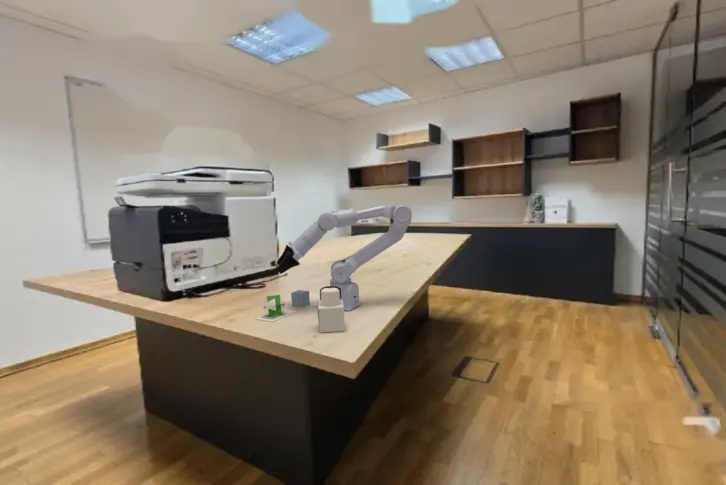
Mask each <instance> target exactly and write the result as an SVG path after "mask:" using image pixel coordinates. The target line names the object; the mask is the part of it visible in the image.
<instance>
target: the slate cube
mask: <svg viewBox="0 0 726 485" xmlns="http://www.w3.org/2000/svg"><path fill="white" fill-rule="evenodd" d="M290 296H291V307H293V308H294V307H295V308H301V309H303V308H305V307H308V306H309V305H311V302H310V290H301V289H298V290H296V291H292V292H291V293H290Z"/></svg>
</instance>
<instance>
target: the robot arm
mask: <svg viewBox="0 0 726 485" xmlns="http://www.w3.org/2000/svg"><path fill="white" fill-rule="evenodd" d="M330 212H331V213H329V212H324V213H322V214H320V215H319V217H318V219H317V220H315V221H314V222H313V223H312V224H310V225H309V227H307V229H305V230H304V231H303V232H302V233H301V234H300V235H299V236H298V237H297V238H296V239H295V240H294V241H293V242H292V241H291V240H289V241H288V242H287V243H288V244H286V245H285V248H284V250H283V252H282V254H281V256H280V257H279V258H278V259H277V262H276V264H277V265H278V266H277V268H276V271H277V272H278V273H279V274H280V275H282V274H284V273H285V272H287V271H289V270H290V269H293V268H294V267H298V266H300V265H301V263H300V262H299V260H300V259H302V258H304V257H305V255H307V253H308V252H310V250H312V248H314V247H315V245H317V244H318V242H320V241H321V239H323V237H324V236H326V234H327V233H328V231H332V230H333V229H335V228H337V229H339V228H346V227H350V226H355V225H356V224H357V222H359V220H360V221H361V220H367V219H371V218H373V219H374V218H379V217H383V218H386V219H389V228H388V231H387V232H385V233H384V234H382V235H380V236H379V237H378V238H376V239H374V240H373V241H371V242H370V243H368V244H366V245H365V246H363V247H362V248H360V249H359V250H357V251H356V252H354V253H353V254H351V255H349V256H346V257H344V258H343V259H339V260H335V261H334V262H332V264H331V266H330V276H331V279H330V280H329V286H337V287H339V288H340V289H341V300H342V301H343V305H344V311H348V312H349V311H352V310H354V309H356V308H357V307H360V306H361V303H360V288H359V285H358V283H357V282H354V281H352V279H351V278H350V277H351V275H352V274H353V273H355V272H356V271H357V270H358V269H359V268H360V267H361V266H363V265H365V264H366V263H367V262H370V261H371V260H372V259H374V258H375V257H377V256H378V255H380V254H381V253H383V252H385V251H386V250H387V249H389V248H390V247H392V246H394V245H395V244H396V243H398V242H399V241H401V240H402V239H403V238H404V236H405V234H406V231H407V229H408V228H409V226H410V225H411V223H412V215H413V212H412V209H411V208H410V207H409V206H408V205H407V204H388V205H387V204H386V205H385V204H383V205H378V206H375V207H370V208H366V209H360V210H356V209H354V208H353V207H351V208H350V207H349V206H347V207H344V209H340V210H336V211H335V210H330Z"/></svg>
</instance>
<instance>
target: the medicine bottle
mask: <svg viewBox="0 0 726 485" xmlns="http://www.w3.org/2000/svg"><path fill="white" fill-rule="evenodd" d="M317 312H318V313H317V316H318V317H317V319H318V332H319V333H320V334H324V333H325V334H326V333H340V332H345V330H346V329H345V310H344V305H343V301H342V300H341V289H340V288H339V287H337V286H330V285H326V286H323V287H321V288H320V289H319V301H318V307H317Z"/></svg>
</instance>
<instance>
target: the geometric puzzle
mask: <svg viewBox="0 0 726 485" xmlns="http://www.w3.org/2000/svg"><path fill="white" fill-rule="evenodd" d="M266 301H267V303H266ZM285 306H286V302H283V298H281V294H277V295H276V294H275V295H269V296H267V295H266V299H265V302H264V305H263V309H264V310H267V312H268V313H269V315H268V316H269V317H272V316H279V315H282V312H283V311H281V309H282V308H285Z"/></svg>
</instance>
